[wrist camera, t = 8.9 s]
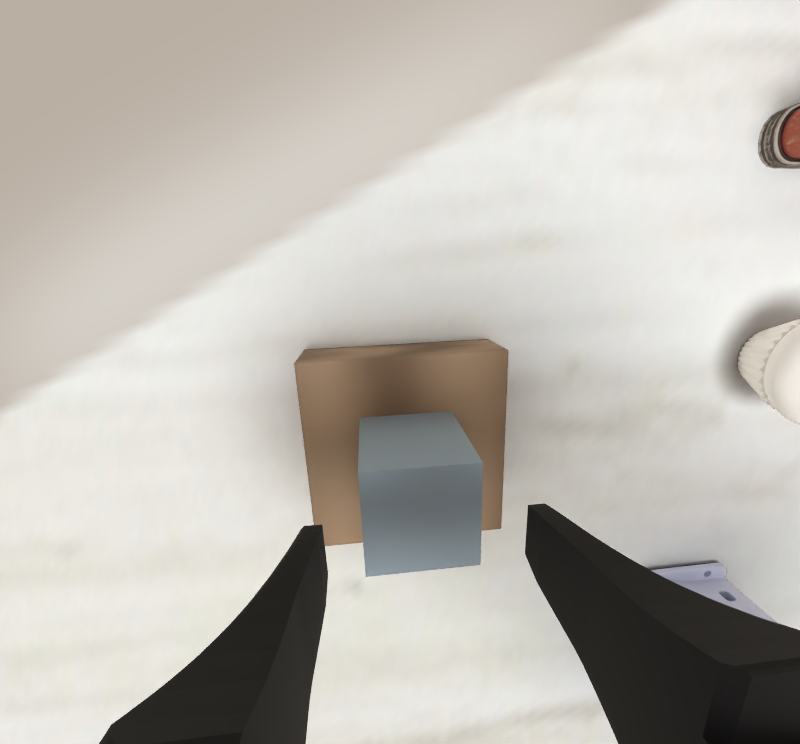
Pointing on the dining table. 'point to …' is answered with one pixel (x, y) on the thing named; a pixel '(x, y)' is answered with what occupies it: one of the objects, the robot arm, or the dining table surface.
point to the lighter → (781, 139)
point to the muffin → (775, 367)
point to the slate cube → (418, 493)
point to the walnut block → (396, 395)
